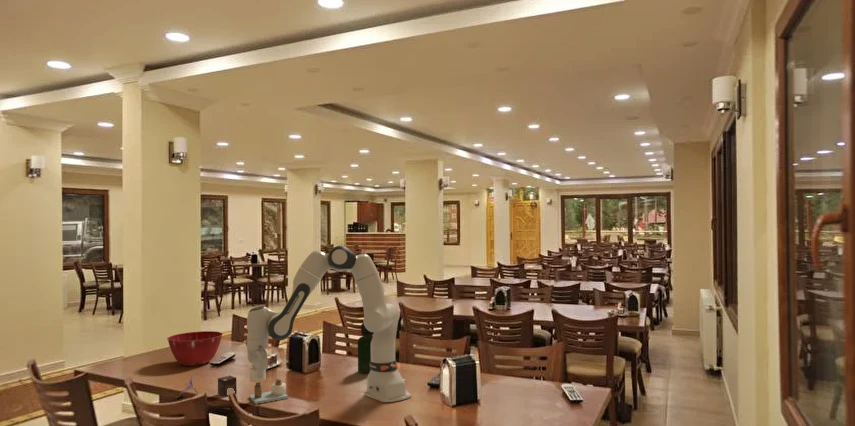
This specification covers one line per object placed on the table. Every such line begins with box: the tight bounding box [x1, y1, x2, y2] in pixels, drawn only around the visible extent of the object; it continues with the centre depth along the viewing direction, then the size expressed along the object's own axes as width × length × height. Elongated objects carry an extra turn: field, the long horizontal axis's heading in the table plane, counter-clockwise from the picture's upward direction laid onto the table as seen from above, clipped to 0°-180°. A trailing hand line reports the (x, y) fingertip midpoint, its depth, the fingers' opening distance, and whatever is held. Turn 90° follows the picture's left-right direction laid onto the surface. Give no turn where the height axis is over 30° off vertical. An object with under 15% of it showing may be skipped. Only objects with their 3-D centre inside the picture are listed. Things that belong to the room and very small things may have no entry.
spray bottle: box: [357, 322, 374, 375], centre depth 281 cm, size 10×10×25 cm
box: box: [217, 375, 237, 397], centre depth 247 cm, size 6×6×7 cm
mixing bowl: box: [167, 330, 224, 367], centre depth 304 cm, size 28×28×15 cm
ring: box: [249, 366, 267, 383], centre depth 237 cm, size 6×6×5 cm
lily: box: [177, 373, 199, 398], centre depth 245 cm, size 12×12×10 cm
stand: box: [248, 378, 289, 405], centre depth 240 cm, size 11×15×7 cm
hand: (257, 375), depth 237 cm, fingers closed on ring, 6 cm apart
